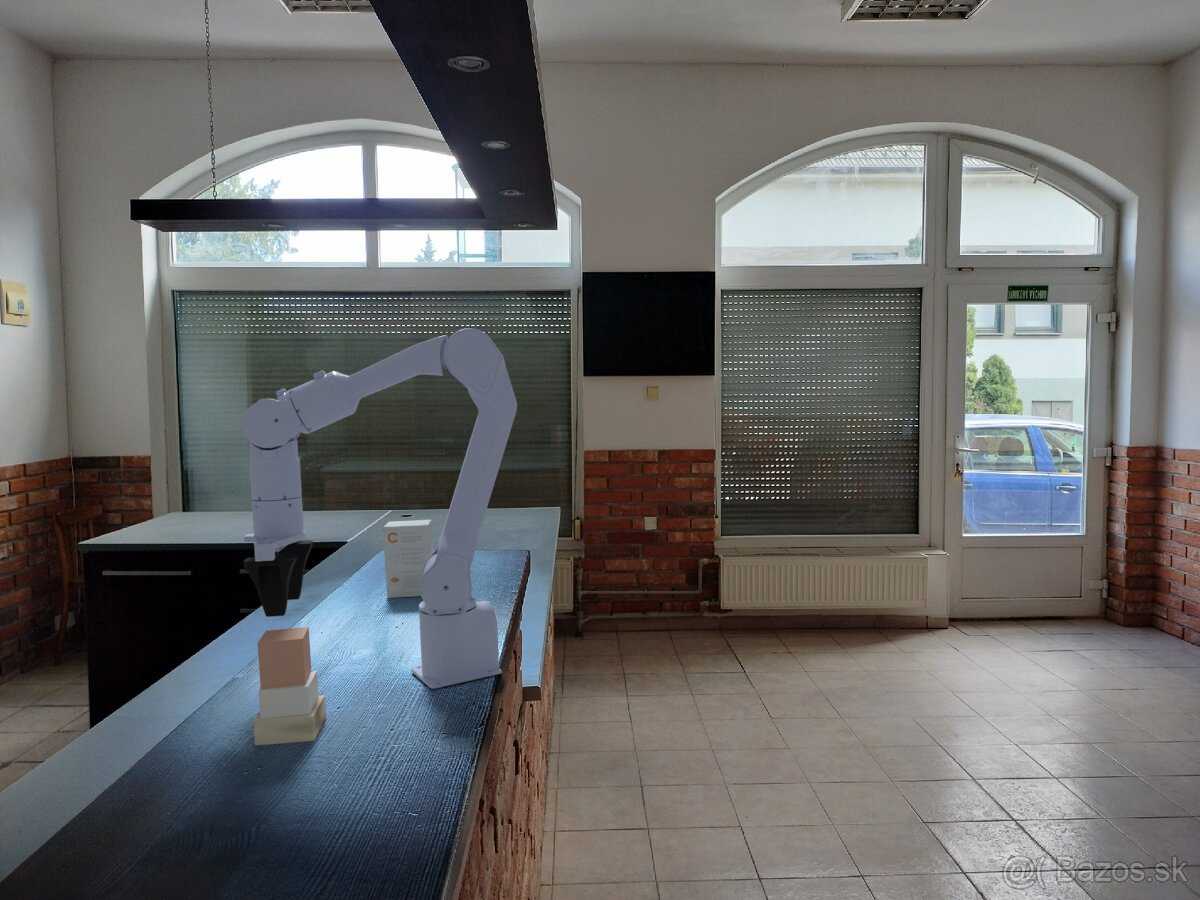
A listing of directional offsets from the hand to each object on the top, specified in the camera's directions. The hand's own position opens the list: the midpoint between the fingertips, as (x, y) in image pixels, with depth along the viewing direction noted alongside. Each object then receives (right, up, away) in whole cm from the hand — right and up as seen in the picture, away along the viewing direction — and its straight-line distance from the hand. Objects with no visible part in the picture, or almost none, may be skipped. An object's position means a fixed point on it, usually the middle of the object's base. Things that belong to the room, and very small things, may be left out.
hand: (283, 607), depth 100 cm
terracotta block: (+5, -6, -12) cm, 14 cm away
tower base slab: (+6, -12, -12) cm, 17 cm away
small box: (+5, -7, +48) cm, 48 cm away
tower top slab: (+5, -9, -12) cm, 16 cm away
